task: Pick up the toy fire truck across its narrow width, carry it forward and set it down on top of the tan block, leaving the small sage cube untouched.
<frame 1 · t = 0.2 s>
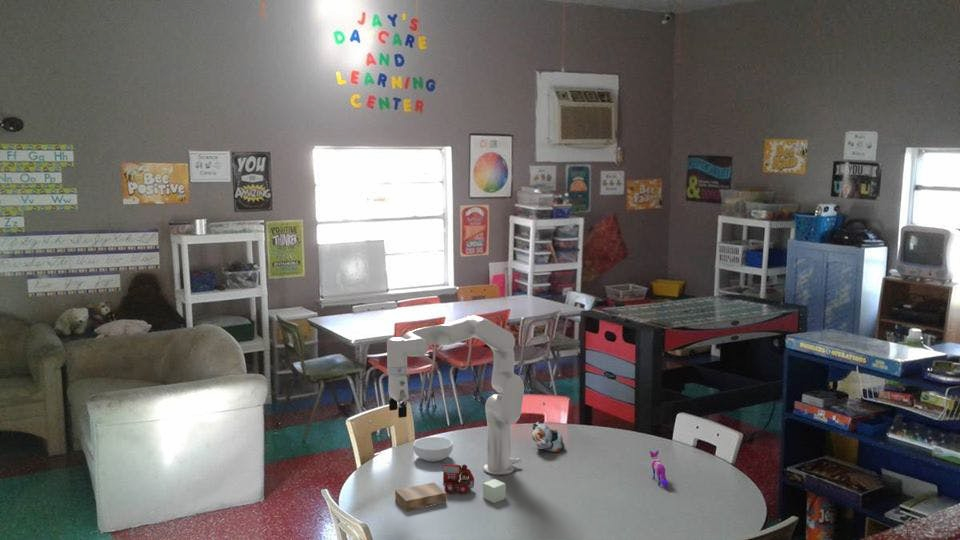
hand: (397, 413, 304), 31 cm above the table, tool pointing down, fingers open, 9 cm apart
cereal bowl: (433, 459, 342), on the table
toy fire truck: (458, 490, 308), on the table
lucky cat figurine: (548, 449, 353), on the table
sage cube: (494, 498, 301), on the table
tan block: (420, 501, 298), on the table
toy dog: (658, 481, 317), on the table
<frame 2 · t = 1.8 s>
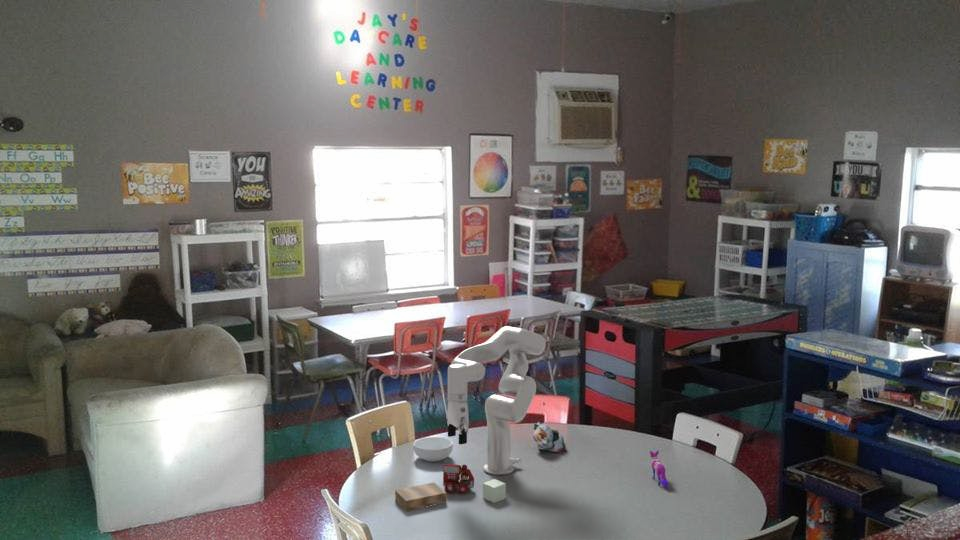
hand: (457, 439, 305), 20 cm above the table, tool pointing down, fingers open, 9 cm apart
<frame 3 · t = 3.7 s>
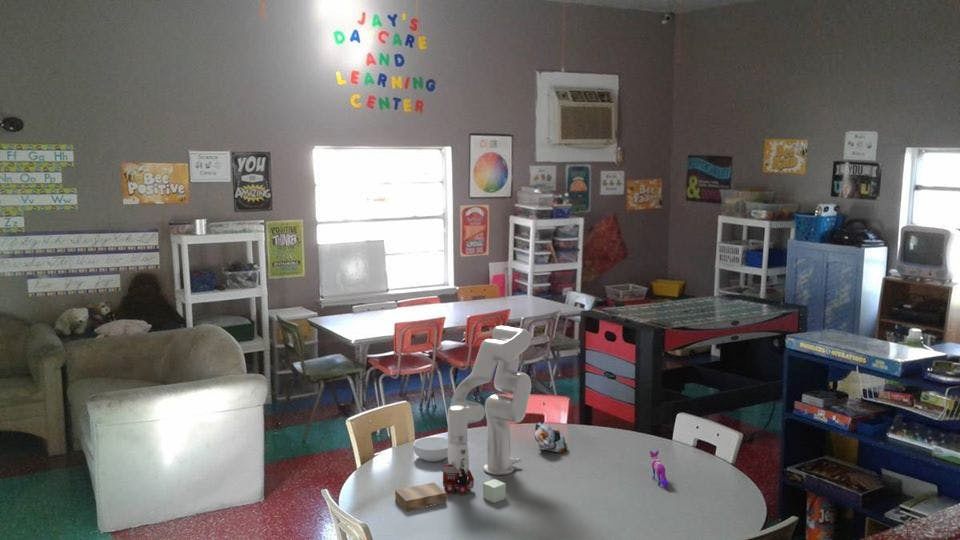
hand: (457, 480, 308), 4 cm above the table, tool pointing down, fingers closed on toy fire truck, 9 cm apart
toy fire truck: (457, 491, 308), on the table, touching gripper
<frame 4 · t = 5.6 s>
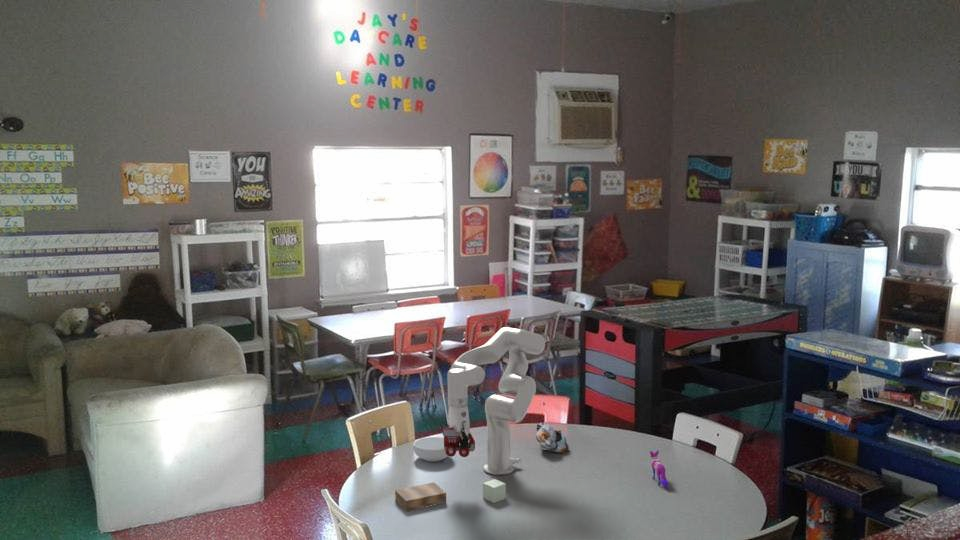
hand: (458, 443, 306), 19 cm above the table, tool pointing down, fingers closed on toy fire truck, 8 cm apart
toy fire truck: (459, 454, 307), point 14 cm above the table, touching gripper
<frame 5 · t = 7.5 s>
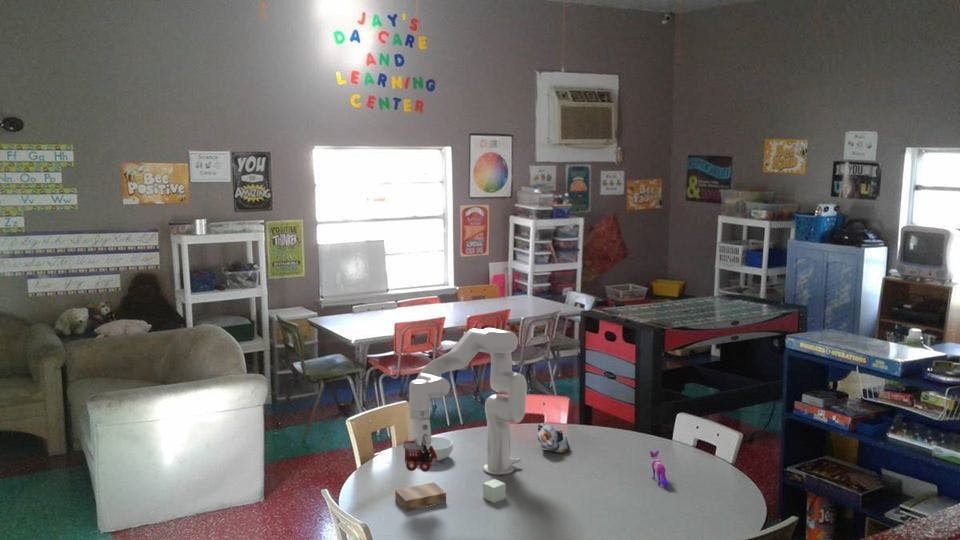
hand: (420, 457, 296), 17 cm above the table, tool pointing down, fingers closed on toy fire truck, 8 cm apart
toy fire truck: (420, 468, 296), point 13 cm above the table, touching gripper
when the fingers open (8 cm above the table, at t = 10.0 s): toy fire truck stays where it is, resting on tan block.
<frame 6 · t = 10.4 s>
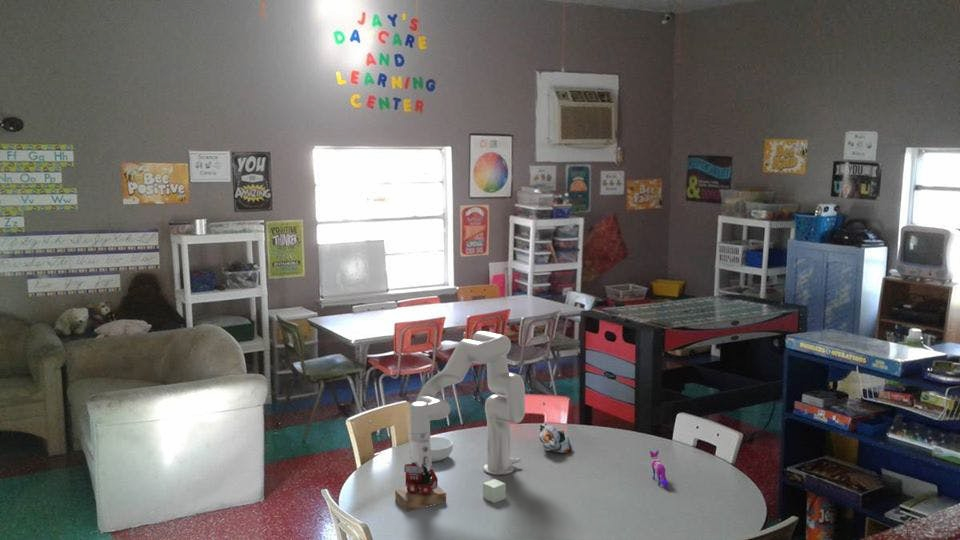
hand: (420, 479, 297), 9 cm above the table, tool pointing down, fingers open, 9 cm apart
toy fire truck: (421, 491, 298), point 4 cm above the table, touching tan block
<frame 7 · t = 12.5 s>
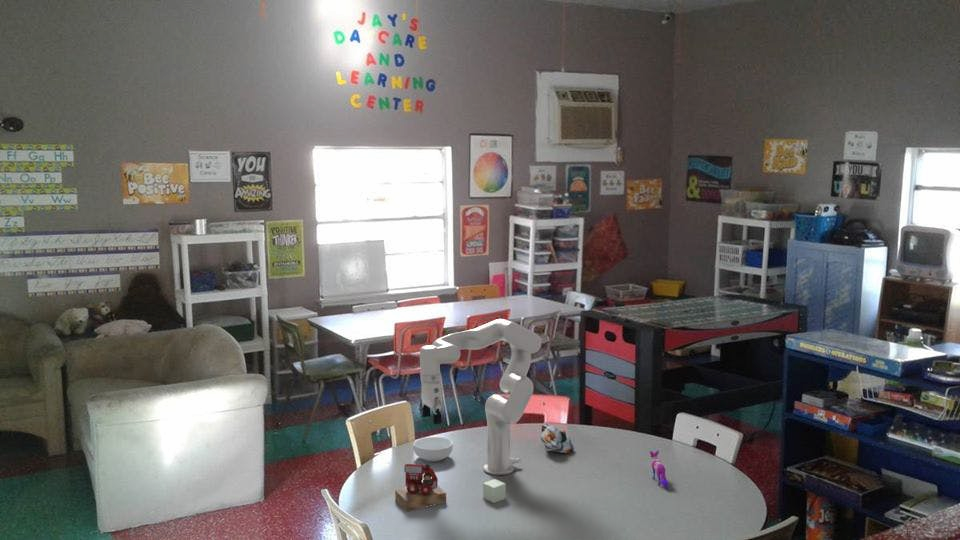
hand: (432, 420, 309), 27 cm above the table, tool pointing down, fingers open, 9 cm apart
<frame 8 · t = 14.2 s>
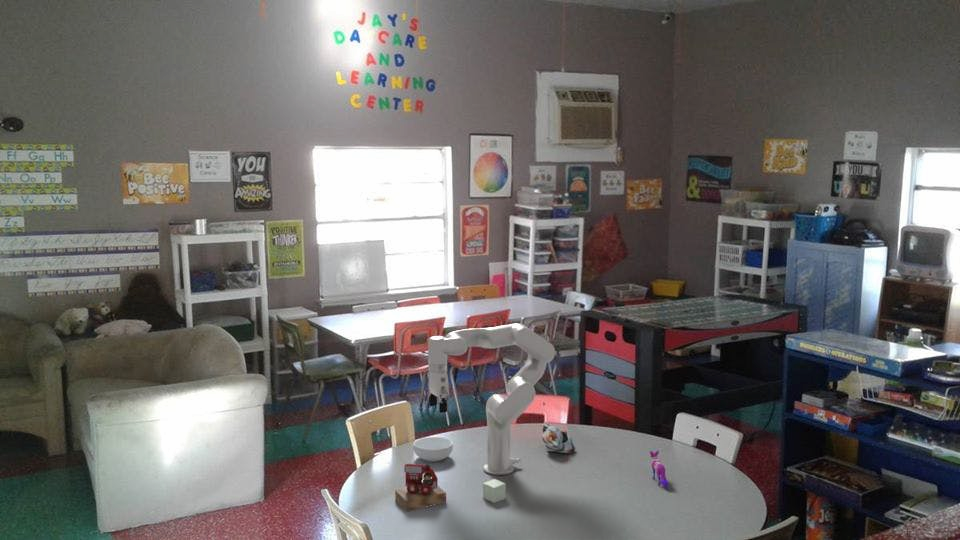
hand: (438, 408, 318), 28 cm above the table, tool pointing down, fingers open, 9 cm apart
at the end: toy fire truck 0.3 cm from the tan block (horizontally); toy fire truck point 3.8 cm above the table; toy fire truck tilted 0° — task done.
